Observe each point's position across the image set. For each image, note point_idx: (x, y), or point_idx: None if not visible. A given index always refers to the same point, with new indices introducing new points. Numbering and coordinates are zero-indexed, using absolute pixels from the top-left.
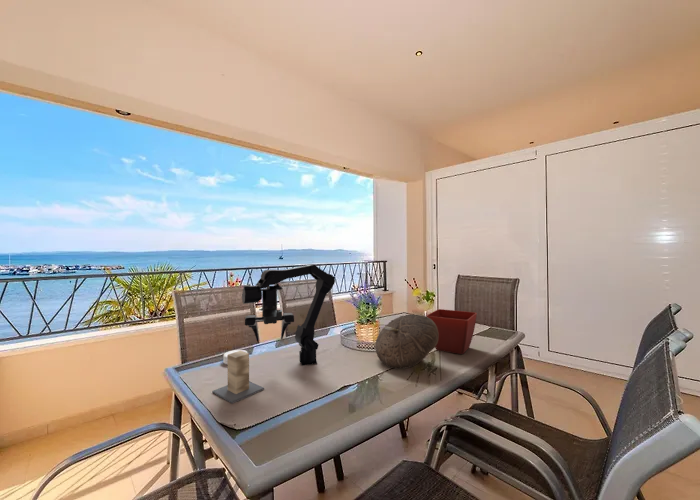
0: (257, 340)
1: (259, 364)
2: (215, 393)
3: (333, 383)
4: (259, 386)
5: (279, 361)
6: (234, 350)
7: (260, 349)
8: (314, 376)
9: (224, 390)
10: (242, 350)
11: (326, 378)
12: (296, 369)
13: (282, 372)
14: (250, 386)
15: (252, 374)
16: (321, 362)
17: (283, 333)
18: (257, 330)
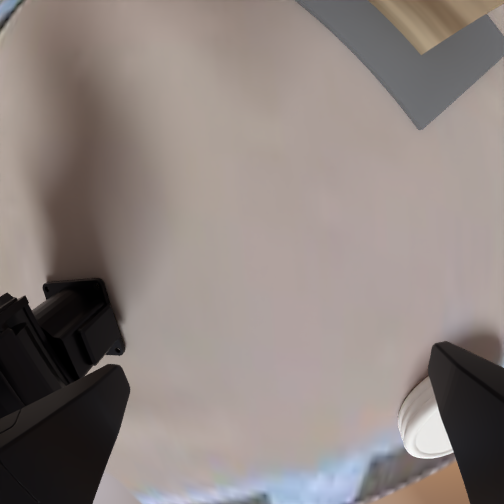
0: (452, 348)
1: (346, 352)
2: (493, 26)
3: (3, 65)
4: (314, 4)
5: (234, 370)
6: (452, 450)
7: (331, 488)
8: (45, 128)
9: (471, 26)
10: (423, 453)
11: (12, 108)
12: (123, 233)
13: (198, 202)
14: (365, 17)
15: (383, 209)
16: (36, 297)
17: (47, 399)
18: (477, 491)
